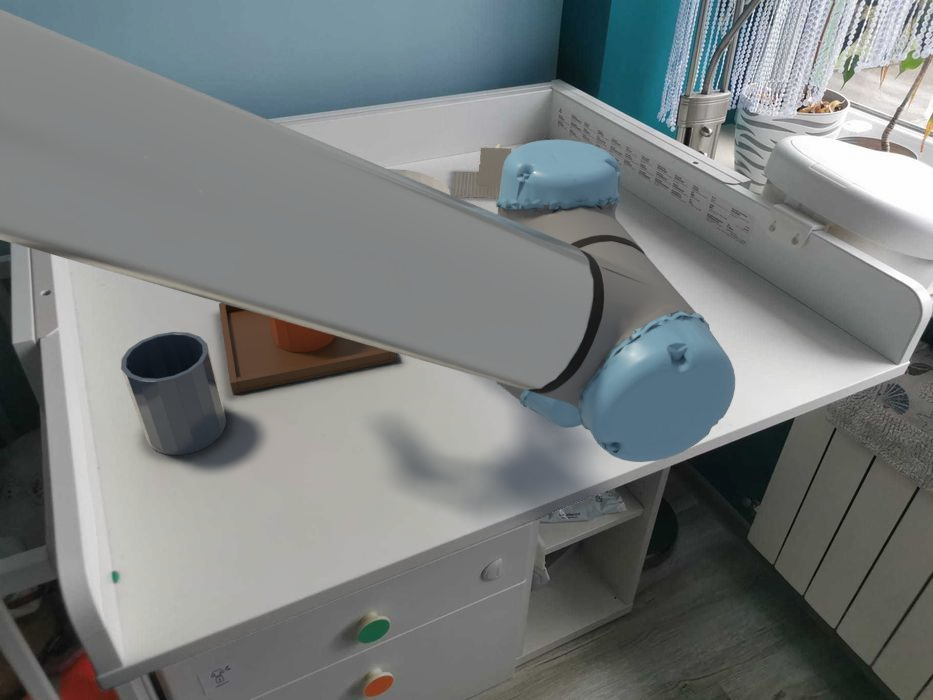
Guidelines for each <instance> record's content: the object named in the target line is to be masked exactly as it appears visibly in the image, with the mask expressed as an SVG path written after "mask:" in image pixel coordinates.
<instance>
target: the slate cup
mask: <svg viewBox="0 0 933 700" xmlns="http://www.w3.org/2000/svg"><path fill="white" fill-rule="evenodd" d="M120 361H121V362H120V370H121V372H122V376H123V378H124V380H125V384H126V387H127V390H128V392H129V395H130V398H131V401H132V403H133V407H134V410H135V412H136V414H137V418H138V421H139V423H140V426H141V429H142V431H143V434H144V438H145V439H146V440H147V443H148V444H149V445H148V446H150V447H151V448H152V449H153V450H154V451H157V452H158V453H161V454H164V455H171V456H181V455H187V454H193V453H195V452H198V451H200V450H203V449H205V448H207V447H209V446H210V445H212V444H213V443H215V441H216V440H218V439H219V438H220V437H221V435H222V434H223V432H224V430H225V428H226V425H227V419H226V415H225V413H226V412H225V409H224V404H223V401H222V397H221V393H220V389H219V385H218V381H217V377H216V374H215V369H214V366H213V362H212V357H211V354H210V349H209V345H208V343H207V342H206V341H205V340H204V339H203V338H202V337H201V336H199V335H197V334H193V333H191V332H187V331H185V332H183V331H170V332H164V333H157V334H155V335H152V336H148V337H147V338H144V339H141V340H140V341H138V342H137V343H135V344H134V345H132V346H131V347H129V348H128V349H127V350H126V352H125V353H124V355H123V356H122V357H121V360H120Z"/></svg>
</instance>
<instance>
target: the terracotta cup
mask: <svg viewBox="0 0 933 700" xmlns="http://www.w3.org/2000/svg"><path fill="white" fill-rule="evenodd" d="M268 318H269V323H270V329H271V334H272V339H273V341H274V343H275V344H276V345H277V346H278V347H279V348H281V349H283V350H286V351H290V352H310V351H315V350H318V349H320V348H323V347H325V346H327V345H328V344H329V343H331V342H332V341H333V340H334V338H335V337H336V336H335V335H332V334H328V333H325V332H321V331H318V330H314V329H311V328H307V327H304V326H300V325H297V324H293V323H290V322H286V321H283V320H279V319H276V318H272V317H269V316H268Z"/></svg>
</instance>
